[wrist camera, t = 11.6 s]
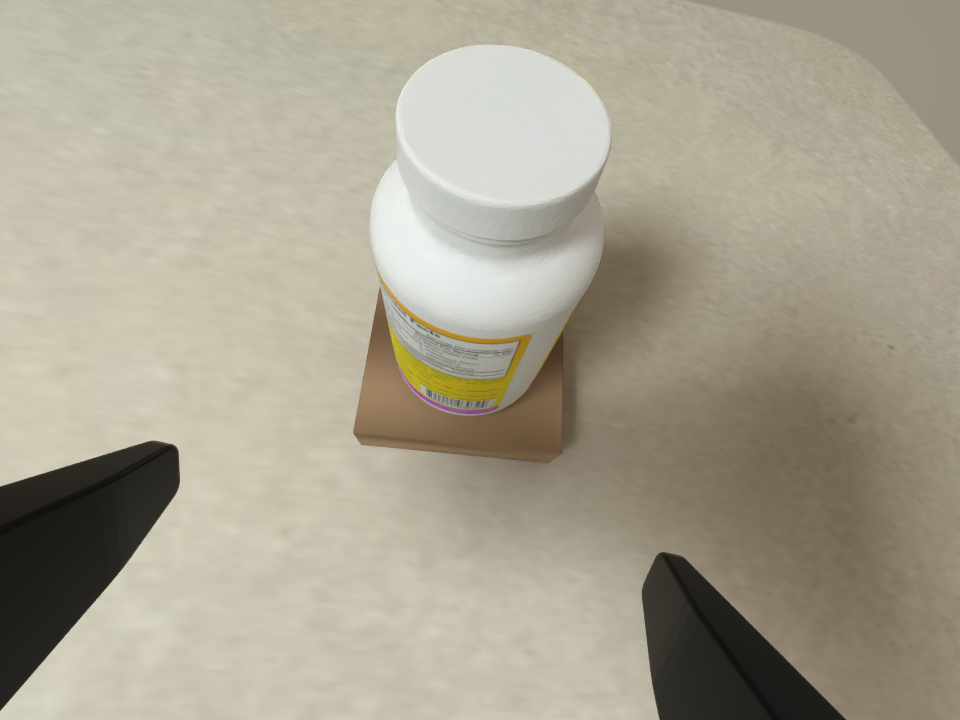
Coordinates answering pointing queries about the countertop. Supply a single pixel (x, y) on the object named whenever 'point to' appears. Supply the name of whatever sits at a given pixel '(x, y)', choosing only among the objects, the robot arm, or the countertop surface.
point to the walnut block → (418, 426)
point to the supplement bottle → (488, 221)
